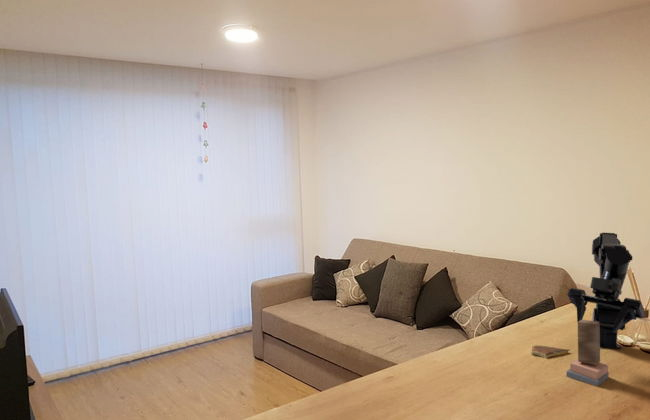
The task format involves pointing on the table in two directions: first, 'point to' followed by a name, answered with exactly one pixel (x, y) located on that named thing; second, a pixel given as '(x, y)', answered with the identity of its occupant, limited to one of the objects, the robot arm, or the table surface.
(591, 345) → the walnut pillar
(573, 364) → the terracotta top slab
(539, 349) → the shard
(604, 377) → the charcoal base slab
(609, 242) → the robot arm
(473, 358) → the table surface
